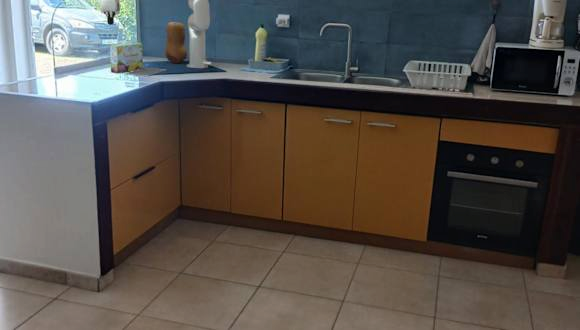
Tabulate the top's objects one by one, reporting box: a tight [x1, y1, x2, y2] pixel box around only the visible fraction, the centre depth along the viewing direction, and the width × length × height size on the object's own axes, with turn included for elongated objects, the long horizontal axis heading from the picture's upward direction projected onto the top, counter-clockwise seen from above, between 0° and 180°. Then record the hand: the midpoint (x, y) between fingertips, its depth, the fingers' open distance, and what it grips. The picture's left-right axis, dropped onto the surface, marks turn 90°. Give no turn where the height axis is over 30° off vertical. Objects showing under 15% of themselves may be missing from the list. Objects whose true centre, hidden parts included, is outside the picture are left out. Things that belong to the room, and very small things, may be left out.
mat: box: [125, 67, 167, 77], centre depth 336 cm, size 14×24×1 cm, turn 166°
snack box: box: [109, 42, 144, 74], centre depth 337 cm, size 21×6×15 cm, turn 154°
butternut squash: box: [164, 21, 188, 64], centre depth 371 cm, size 14×13×25 cm
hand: (110, 24), depth 333 cm, fingers closed
